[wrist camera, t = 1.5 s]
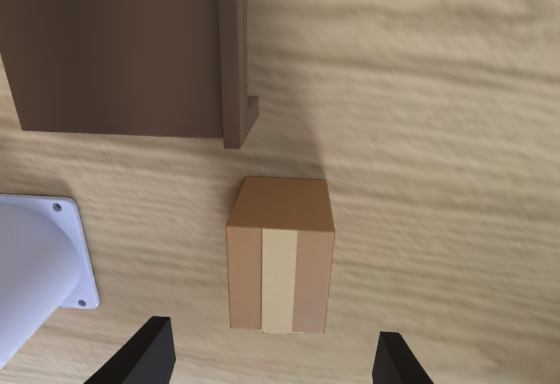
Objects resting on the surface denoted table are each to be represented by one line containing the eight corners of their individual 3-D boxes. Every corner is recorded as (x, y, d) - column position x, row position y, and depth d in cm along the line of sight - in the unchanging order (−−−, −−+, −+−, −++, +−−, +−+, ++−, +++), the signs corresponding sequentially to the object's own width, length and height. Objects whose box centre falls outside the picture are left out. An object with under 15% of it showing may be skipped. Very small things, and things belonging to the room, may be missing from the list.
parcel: (246, 259, 21) (229, 330, 16) (245, 175, 19) (224, 226, 14) (319, 263, 21) (324, 336, 16) (326, 179, 19) (336, 232, 14)
